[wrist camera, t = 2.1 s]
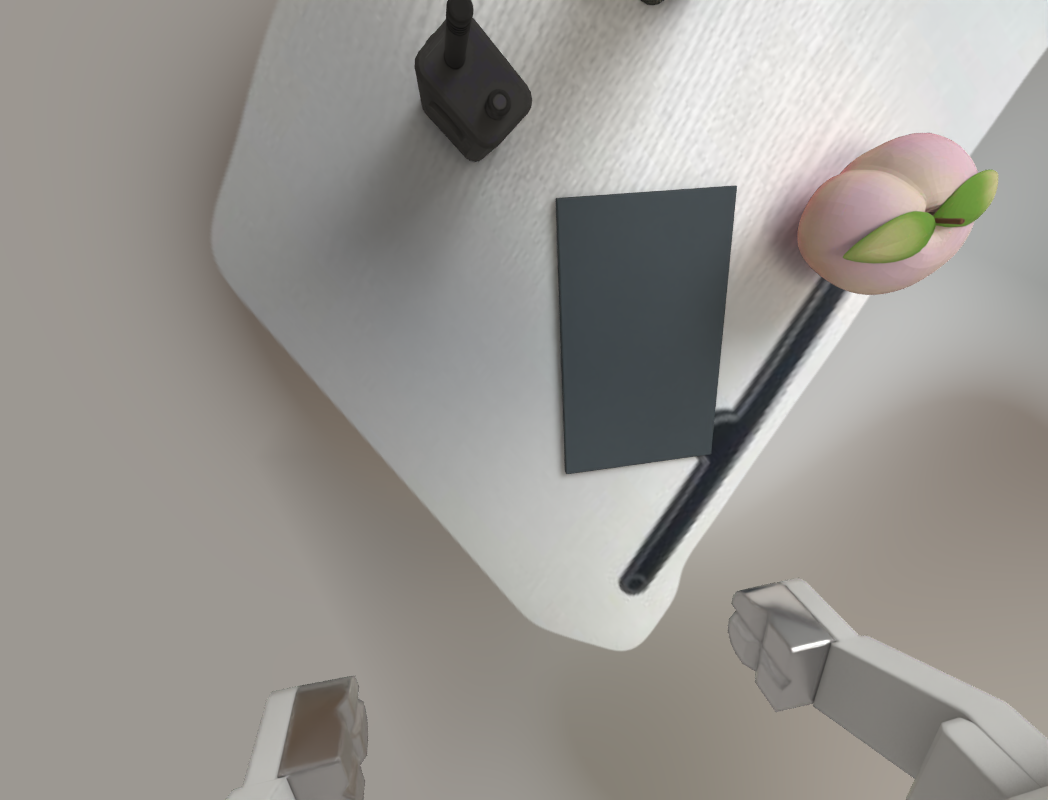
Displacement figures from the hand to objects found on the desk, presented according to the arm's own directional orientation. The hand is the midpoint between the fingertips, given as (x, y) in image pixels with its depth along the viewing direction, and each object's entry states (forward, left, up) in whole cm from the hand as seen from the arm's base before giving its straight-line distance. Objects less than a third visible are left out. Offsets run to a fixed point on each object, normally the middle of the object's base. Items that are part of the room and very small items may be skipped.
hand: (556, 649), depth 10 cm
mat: (+10, -6, -26) cm, 28 cm away
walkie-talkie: (+5, +12, -26) cm, 29 cm away
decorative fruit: (+25, -4, -26) cm, 36 cm away
